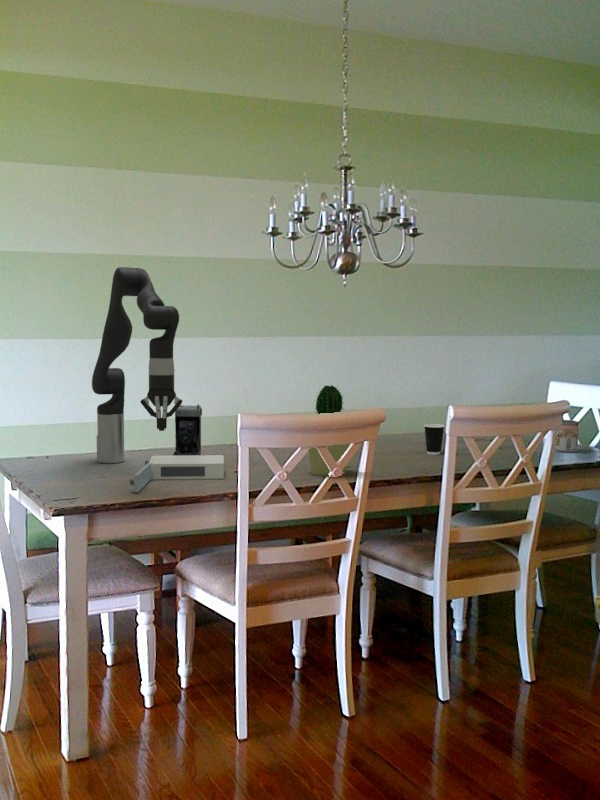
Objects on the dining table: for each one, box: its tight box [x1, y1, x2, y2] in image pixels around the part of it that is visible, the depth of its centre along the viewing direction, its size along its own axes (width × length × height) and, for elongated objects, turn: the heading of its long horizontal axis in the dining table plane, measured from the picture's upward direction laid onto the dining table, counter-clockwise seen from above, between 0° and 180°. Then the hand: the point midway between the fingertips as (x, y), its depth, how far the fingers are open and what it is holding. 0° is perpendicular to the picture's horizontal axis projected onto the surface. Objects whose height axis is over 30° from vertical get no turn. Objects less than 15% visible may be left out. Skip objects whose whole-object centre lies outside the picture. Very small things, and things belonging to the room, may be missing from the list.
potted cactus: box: [308, 384, 350, 477], centre depth 290 cm, size 15×15×30 cm
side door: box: [129, 463, 154, 493], centre depth 266 cm, size 21×3×5 cm, turn 179°
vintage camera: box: [172, 404, 203, 456], centre depth 311 cm, size 10×16×20 cm, turn 2°
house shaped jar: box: [555, 419, 580, 454], centre depth 340 cm, size 9×8×12 cm
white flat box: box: [144, 454, 225, 481], centre depth 286 cm, size 26×16×5 cm, turn 95°
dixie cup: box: [423, 423, 446, 456], centre depth 331 cm, size 8×8×11 cm
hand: (161, 430), depth 261 cm, fingers closed
